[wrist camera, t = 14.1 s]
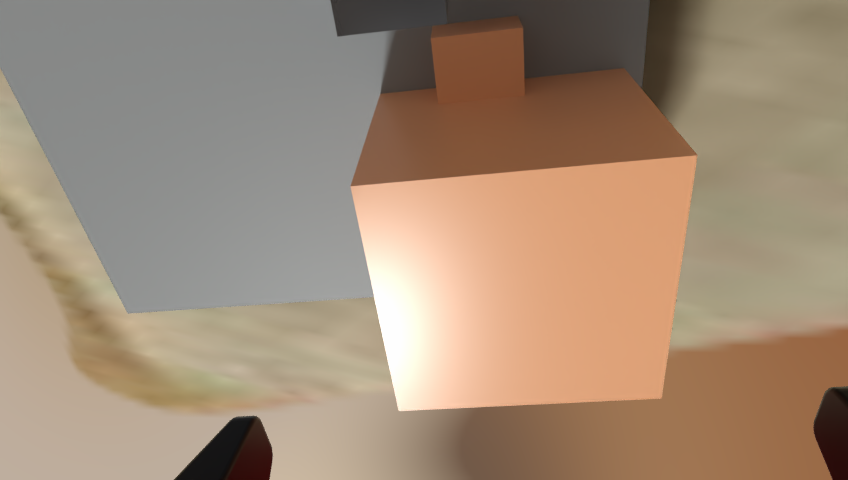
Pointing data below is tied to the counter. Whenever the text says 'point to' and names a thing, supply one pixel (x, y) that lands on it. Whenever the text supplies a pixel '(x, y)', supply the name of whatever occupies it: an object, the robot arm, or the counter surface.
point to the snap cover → (522, 229)
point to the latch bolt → (386, 15)
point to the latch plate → (244, 129)
